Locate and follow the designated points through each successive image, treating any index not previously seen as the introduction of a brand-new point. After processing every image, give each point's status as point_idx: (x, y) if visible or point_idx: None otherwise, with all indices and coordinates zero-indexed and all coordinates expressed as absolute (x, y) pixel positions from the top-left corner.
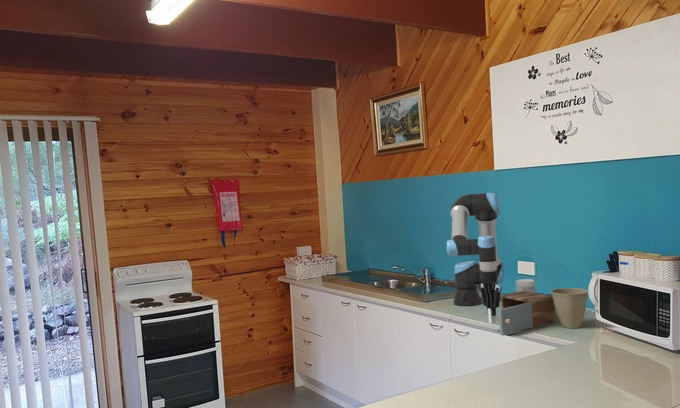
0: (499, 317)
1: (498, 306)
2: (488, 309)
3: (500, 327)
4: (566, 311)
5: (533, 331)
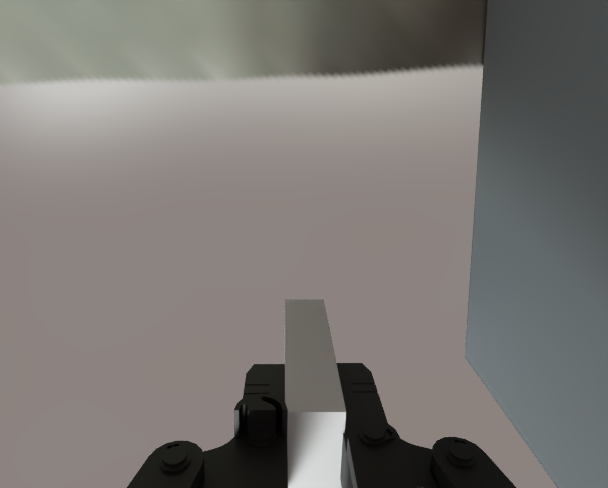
0: (555, 482)
1: (479, 464)
2: (294, 485)
3: (500, 400)
4: None
5: None
